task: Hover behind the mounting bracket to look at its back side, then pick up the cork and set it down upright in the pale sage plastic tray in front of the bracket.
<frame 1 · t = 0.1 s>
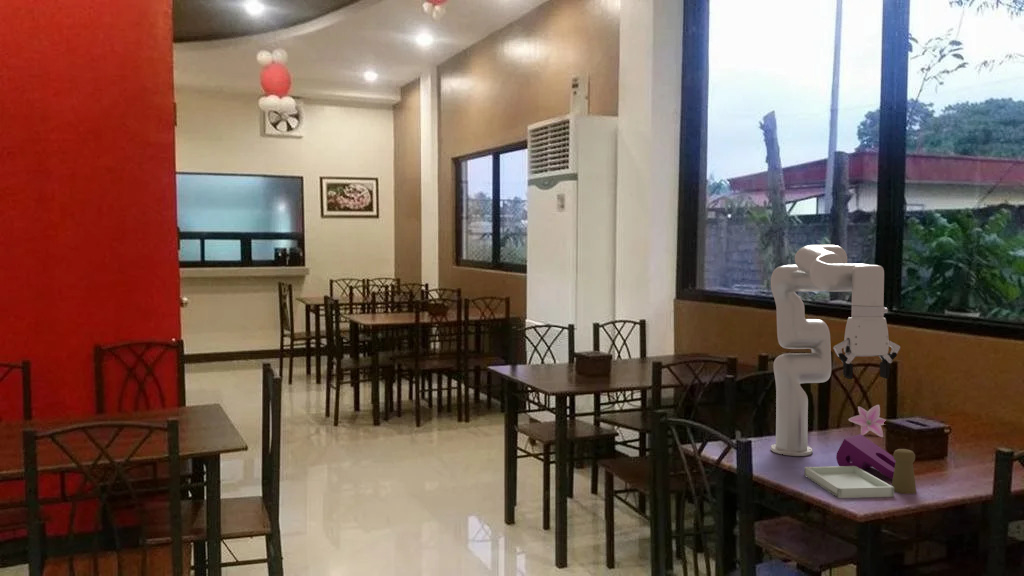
hand: (866, 378, 198), 31 cm above the table, tool pointing down, fingers open, 9 cm apart
lily: (868, 434, 267), on the table
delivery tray: (847, 485, 208), on the table
cork: (903, 491, 204), on the table
mounting bracket: (875, 474, 220), on the table
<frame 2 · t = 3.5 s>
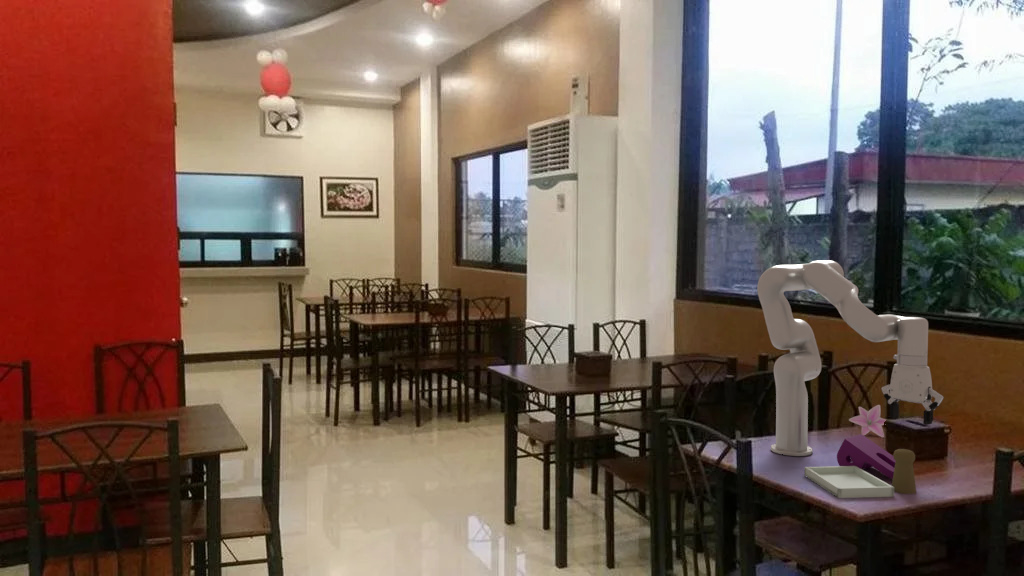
hand: (910, 420, 215), 16 cm above the table, tool pointing down, fingers open, 9 cm apart
nothing on the table moved.
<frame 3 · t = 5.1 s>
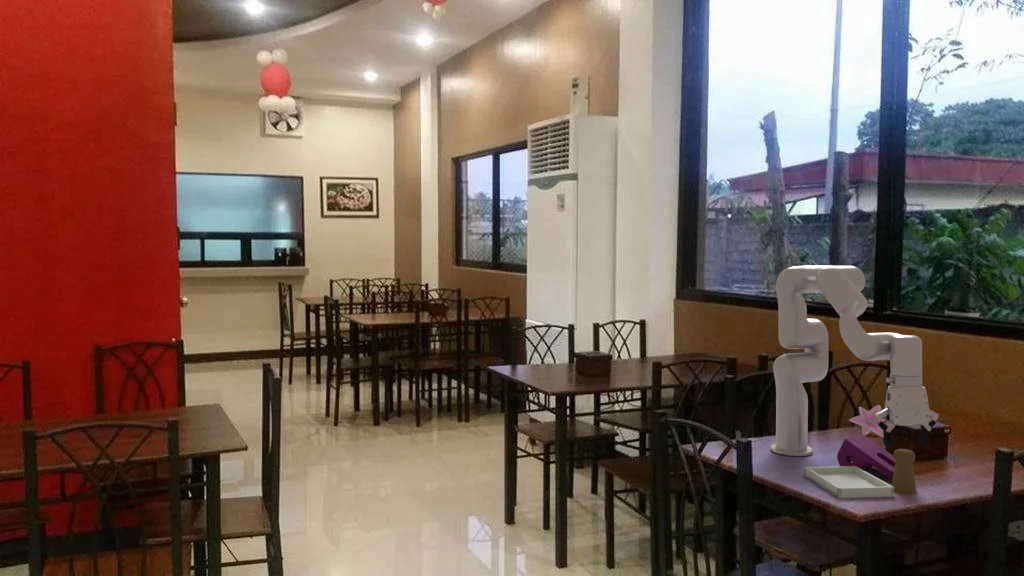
hand: (906, 445, 203), 12 cm above the table, tool pointing down, fingers open, 9 cm apart
nothing on the table moved.
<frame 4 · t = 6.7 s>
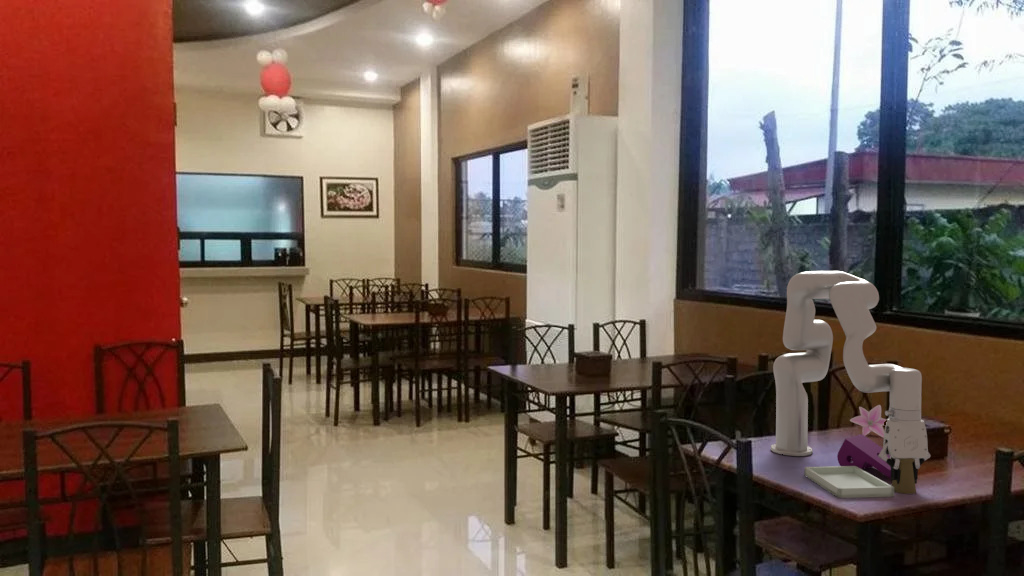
hand: (904, 481, 204), 2 cm above the table, tool pointing down, fingers closed on cork, 3 cm apart
cork: (903, 491, 204), on the table, touching gripper
everything else where it was.
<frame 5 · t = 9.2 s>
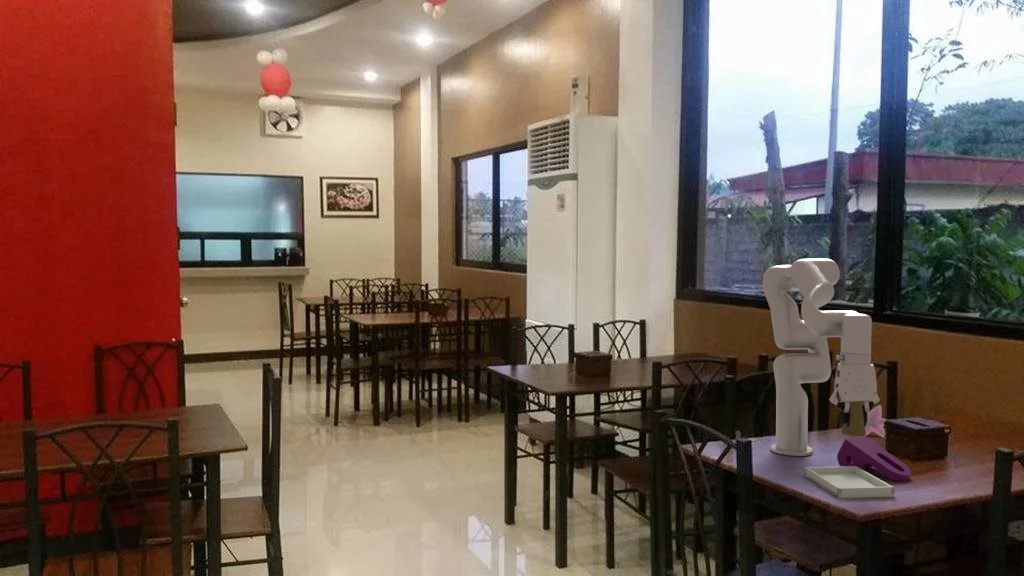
hand: (854, 425, 207), 17 cm above the table, tool pointing down, fingers closed on cork, 3 cm apart
cork: (853, 434, 207), point 14 cm above the table, touching gripper
everything else where it was.
when the fingers open (5 cm above the table, at t = 12.0 s): cork drops 1 cm, resting on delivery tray.
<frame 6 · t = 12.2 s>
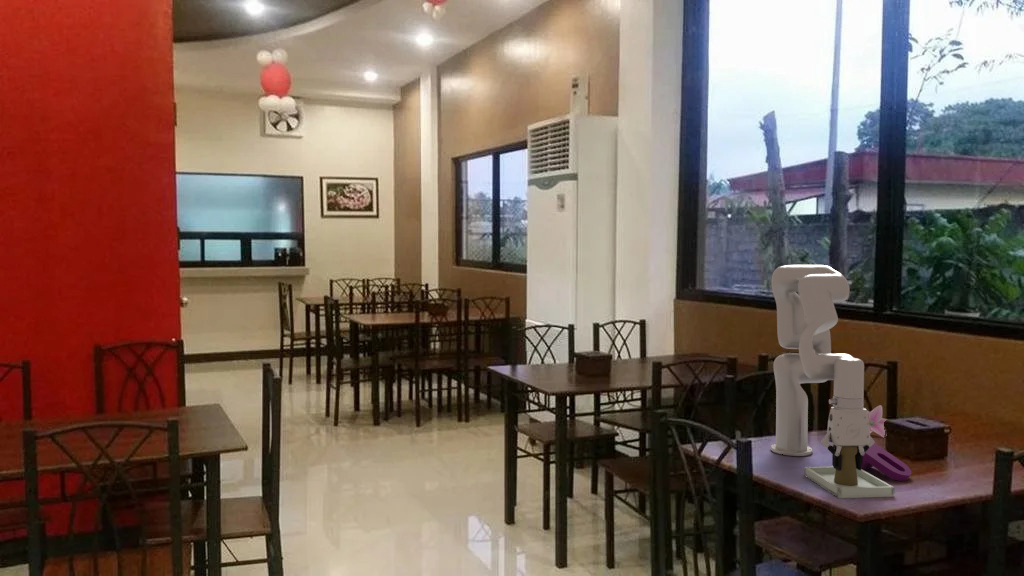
hand: (847, 468, 208), 5 cm above the table, tool pointing down, fingers open, 5 cm apart
cork: (845, 483, 208), point 1 cm above the table, touching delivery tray, gripper
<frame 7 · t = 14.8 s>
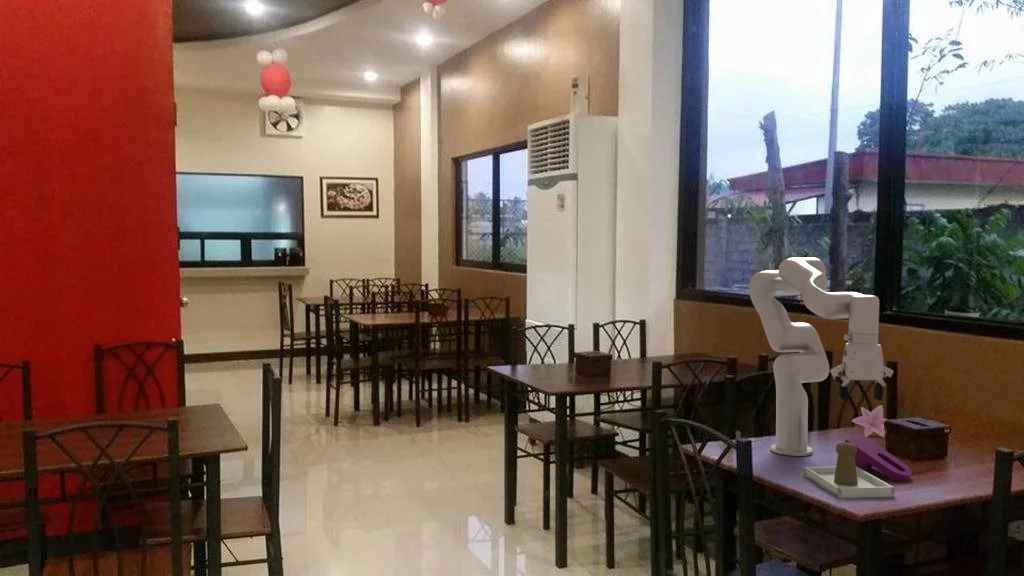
hand: (860, 399, 213), 23 cm above the table, tool pointing down, fingers open, 9 cm apart
cork: (845, 483, 208), point 1 cm above the table, touching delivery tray
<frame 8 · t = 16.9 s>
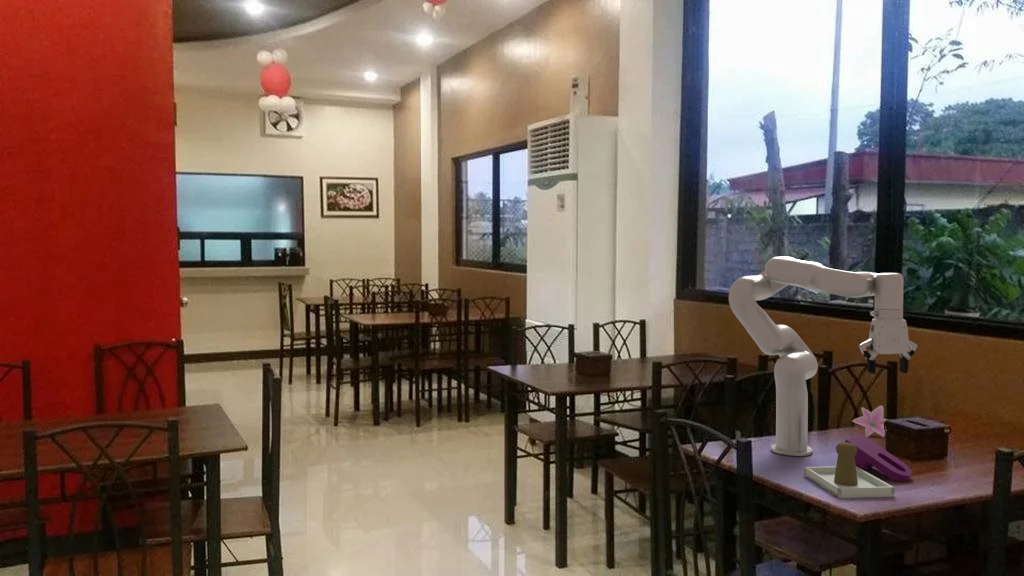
hand: (887, 372, 224), 28 cm above the table, tool pointing down, fingers open, 9 cm apart
at the end: cork inside the target area on the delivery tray (0.3 cm from its centre), point 0.6 cm above the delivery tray's base; cork tilted 0°; the gripper is holding nothing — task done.
